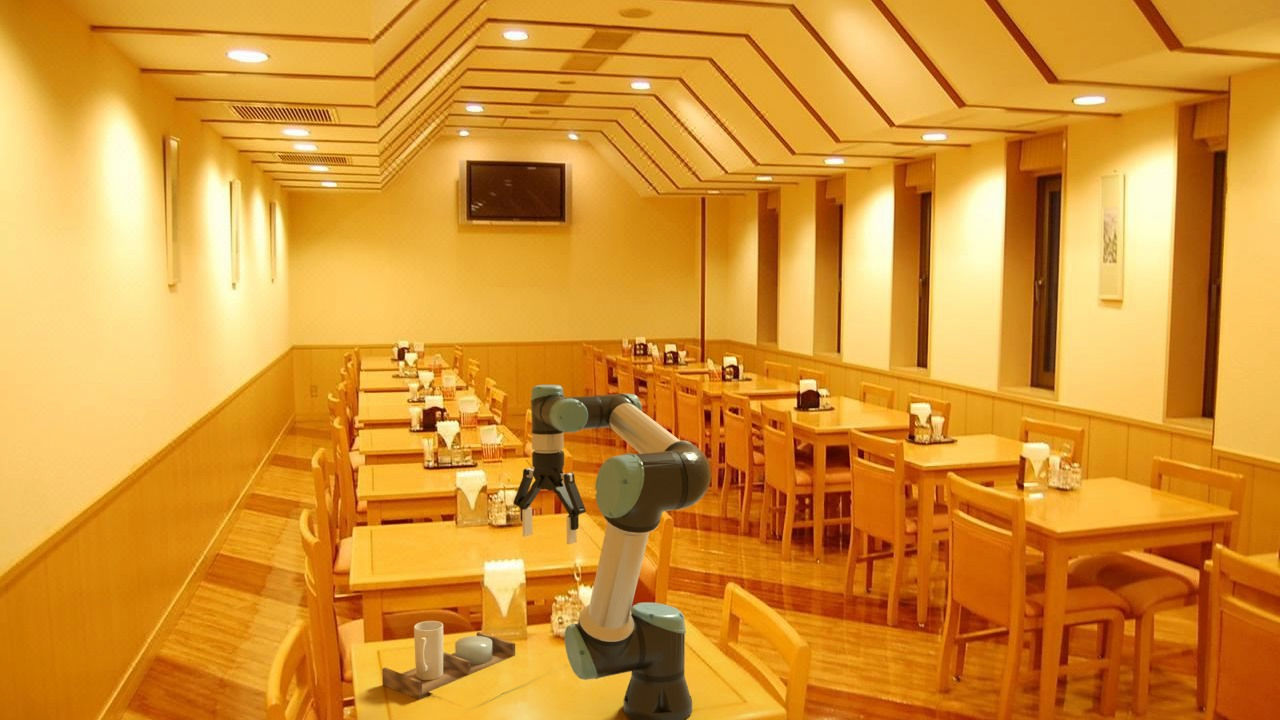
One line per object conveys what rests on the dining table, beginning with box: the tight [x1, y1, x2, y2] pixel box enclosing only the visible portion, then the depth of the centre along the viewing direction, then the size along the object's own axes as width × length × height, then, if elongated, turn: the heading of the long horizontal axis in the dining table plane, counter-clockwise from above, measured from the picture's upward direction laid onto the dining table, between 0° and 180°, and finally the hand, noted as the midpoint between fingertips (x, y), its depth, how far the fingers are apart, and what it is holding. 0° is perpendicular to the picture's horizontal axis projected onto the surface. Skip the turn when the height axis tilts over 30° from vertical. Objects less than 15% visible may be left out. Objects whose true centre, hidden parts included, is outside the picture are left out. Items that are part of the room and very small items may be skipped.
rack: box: [381, 631, 516, 701], centre depth 244 cm, size 13×30×4 cm, turn 142°
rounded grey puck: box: [454, 635, 492, 666], centre depth 249 cm, size 9×9×4 cm
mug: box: [413, 620, 444, 680], centre depth 237 cm, size 10×7×12 cm, turn 177°
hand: (549, 539), depth 240 cm, fingers open, 13 cm apart
